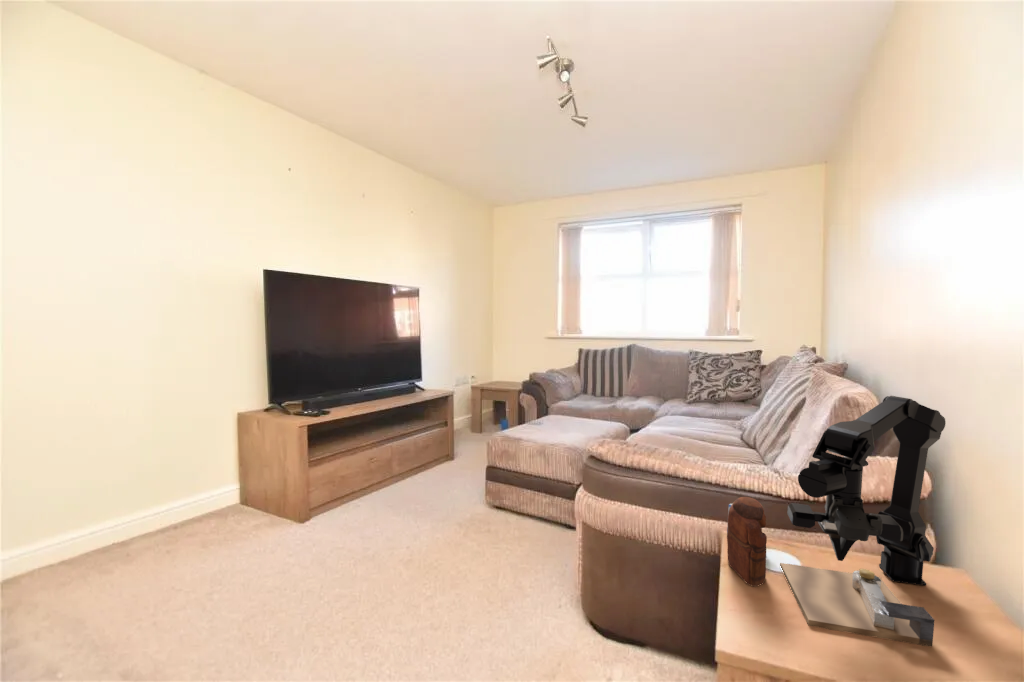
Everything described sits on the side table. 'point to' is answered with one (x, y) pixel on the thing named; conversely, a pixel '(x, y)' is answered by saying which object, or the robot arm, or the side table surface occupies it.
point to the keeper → (912, 619)
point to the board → (841, 603)
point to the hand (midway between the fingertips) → (839, 559)
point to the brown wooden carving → (747, 540)
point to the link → (873, 599)
